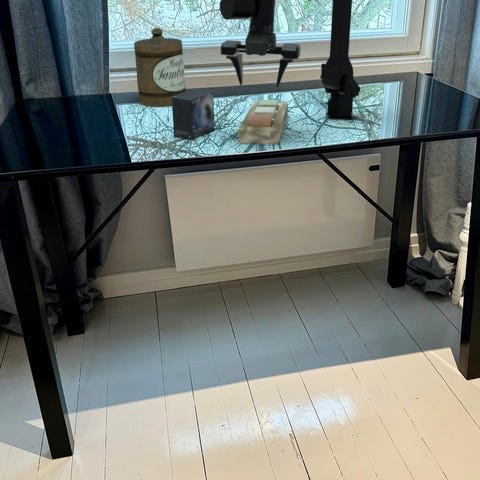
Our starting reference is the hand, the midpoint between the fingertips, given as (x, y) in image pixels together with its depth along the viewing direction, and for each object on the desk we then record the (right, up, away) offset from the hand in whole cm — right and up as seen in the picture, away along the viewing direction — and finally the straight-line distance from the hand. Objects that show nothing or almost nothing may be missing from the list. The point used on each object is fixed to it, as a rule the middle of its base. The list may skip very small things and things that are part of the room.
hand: (259, 85), depth 139 cm
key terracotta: (+1, -9, +4) cm, 10 cm away
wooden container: (-29, +6, +40) cm, 50 cm away
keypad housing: (+2, -8, +12) cm, 15 cm away
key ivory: (+2, -6, +11) cm, 12 cm away
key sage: (+3, -2, +17) cm, 18 cm away
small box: (-17, -10, +10) cm, 22 cm away
